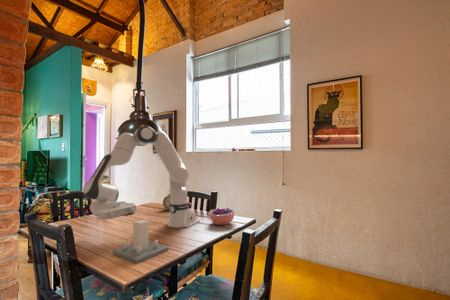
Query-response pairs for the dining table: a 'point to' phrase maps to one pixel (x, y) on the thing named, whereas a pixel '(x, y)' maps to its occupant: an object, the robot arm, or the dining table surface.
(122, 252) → the peg cradle
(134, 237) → the cream post
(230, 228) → the dining table surface
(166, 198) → the alarm clock
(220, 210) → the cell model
